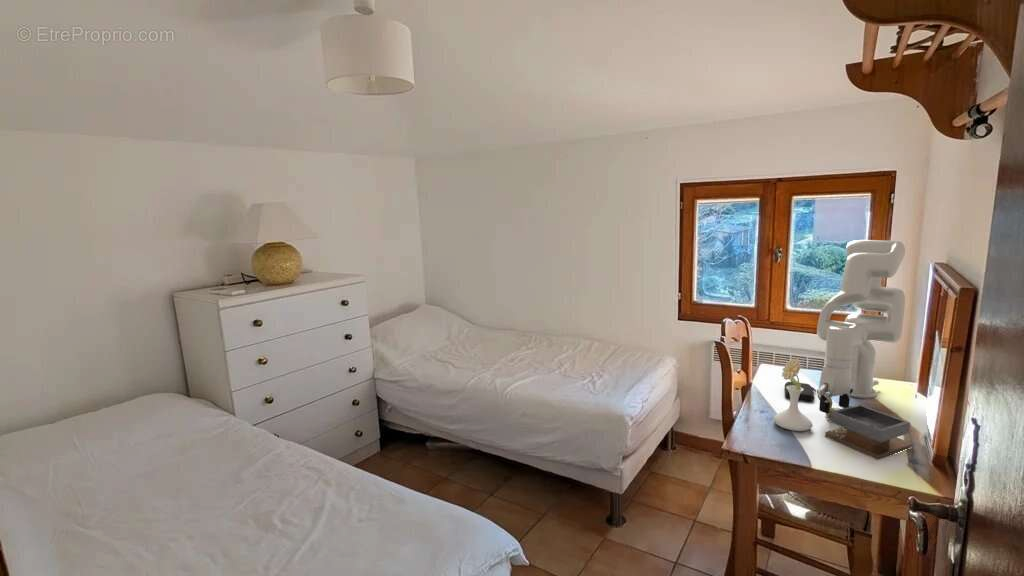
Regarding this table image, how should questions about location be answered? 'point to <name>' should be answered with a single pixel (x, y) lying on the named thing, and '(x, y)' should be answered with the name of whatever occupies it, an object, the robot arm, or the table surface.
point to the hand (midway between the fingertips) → (834, 409)
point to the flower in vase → (793, 401)
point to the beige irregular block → (830, 409)
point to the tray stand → (869, 431)
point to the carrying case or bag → (805, 394)
